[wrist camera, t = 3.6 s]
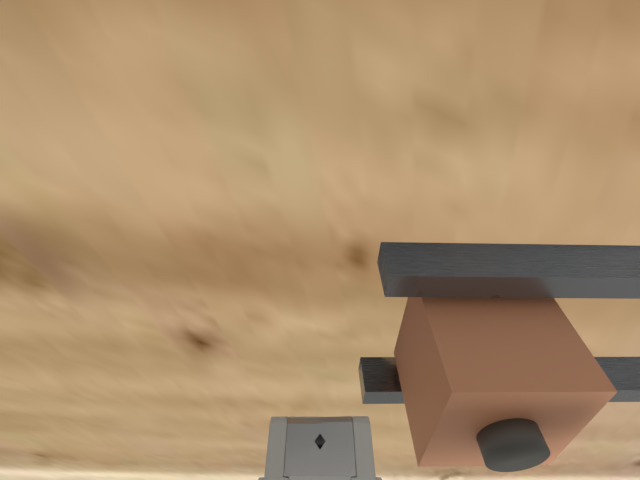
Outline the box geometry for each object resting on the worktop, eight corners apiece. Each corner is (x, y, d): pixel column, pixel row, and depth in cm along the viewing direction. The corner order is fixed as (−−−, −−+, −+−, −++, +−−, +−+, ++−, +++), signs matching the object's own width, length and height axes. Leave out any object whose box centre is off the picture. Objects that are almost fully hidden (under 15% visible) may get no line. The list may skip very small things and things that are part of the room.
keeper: (393, 352, 18) (423, 491, 14) (413, 274, 15) (460, 419, 11) (497, 352, 19) (560, 488, 14) (538, 275, 16) (635, 417, 11)
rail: (358, 369, 19) (372, 481, 15) (380, 241, 14) (409, 358, 10) (719, 368, 20) (819, 473, 16) (856, 248, 15) (1046, 357, 11)
